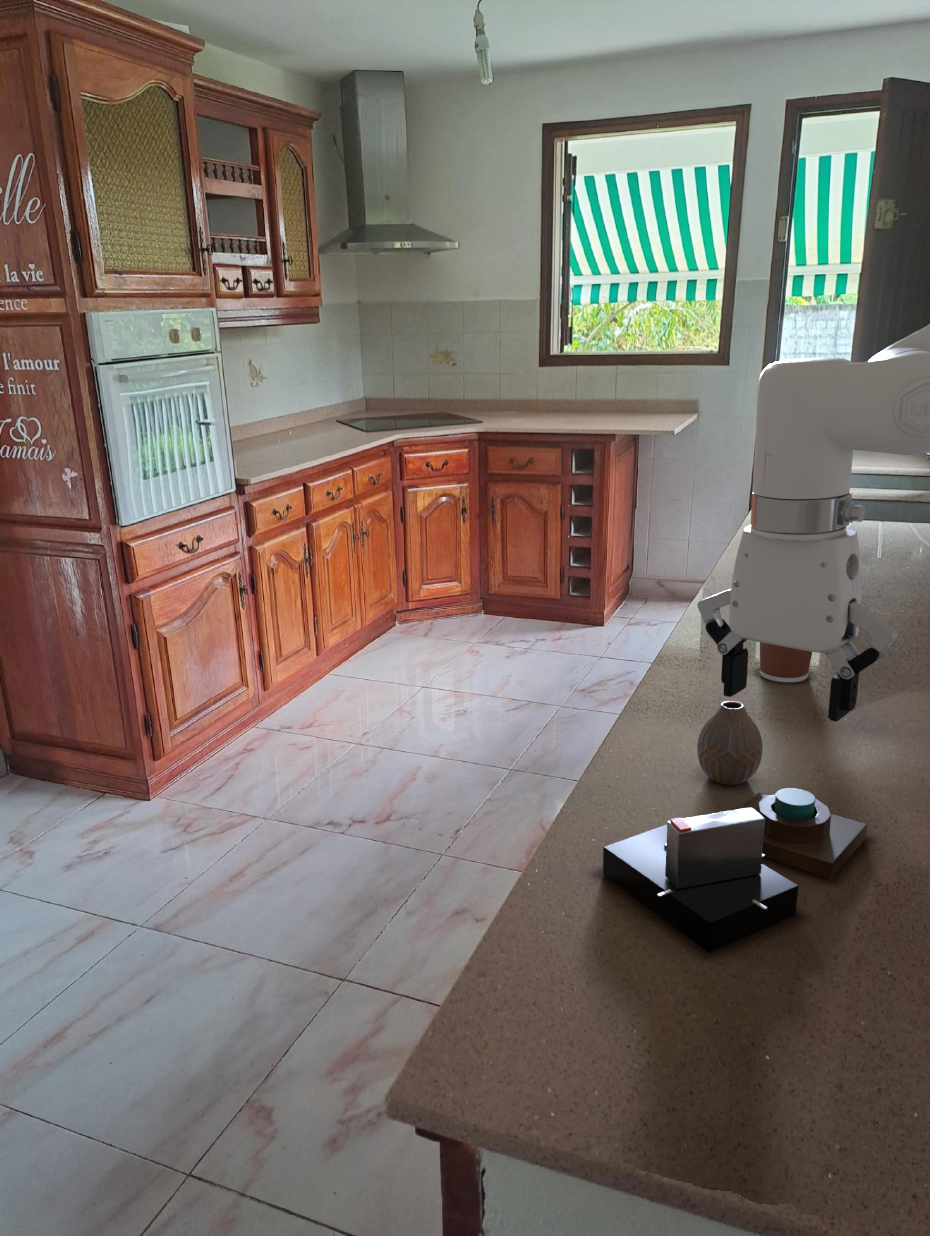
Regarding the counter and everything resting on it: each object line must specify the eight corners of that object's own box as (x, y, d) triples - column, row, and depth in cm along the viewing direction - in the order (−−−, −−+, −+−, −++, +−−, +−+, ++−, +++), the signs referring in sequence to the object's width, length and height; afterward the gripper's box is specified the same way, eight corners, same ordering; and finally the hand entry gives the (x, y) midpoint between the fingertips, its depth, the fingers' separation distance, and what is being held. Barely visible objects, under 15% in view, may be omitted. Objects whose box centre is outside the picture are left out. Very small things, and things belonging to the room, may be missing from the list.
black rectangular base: (815, 917, 82) (818, 886, 81) (707, 965, 77) (709, 932, 76) (692, 841, 95) (694, 813, 94) (593, 877, 90) (593, 848, 89)
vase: (721, 758, 112) (726, 688, 109) (773, 778, 107) (779, 705, 103) (682, 776, 108) (686, 704, 105) (734, 797, 103) (739, 722, 100)
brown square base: (865, 839, 94) (869, 807, 92) (830, 879, 88) (834, 846, 86) (757, 806, 101) (759, 777, 100) (717, 842, 95) (719, 810, 93)
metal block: (747, 861, 86) (751, 804, 84) (761, 874, 84) (765, 816, 82) (664, 876, 84) (667, 818, 82) (676, 889, 82) (679, 830, 80)
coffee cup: (786, 659, 141) (792, 580, 137) (832, 678, 133) (841, 595, 129) (736, 670, 138) (741, 589, 134) (780, 690, 130) (788, 605, 126)
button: (819, 810, 93) (821, 794, 92) (804, 825, 91) (806, 809, 90) (783, 800, 95) (784, 784, 95) (768, 814, 93) (769, 798, 92)
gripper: (924, 514, 76) (901, 712, 82) (724, 498, 88) (717, 672, 94) (889, 533, 72) (867, 741, 77) (682, 513, 83) (677, 696, 89)
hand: (785, 703), depth 86 cm, fingers open, 9 cm apart
